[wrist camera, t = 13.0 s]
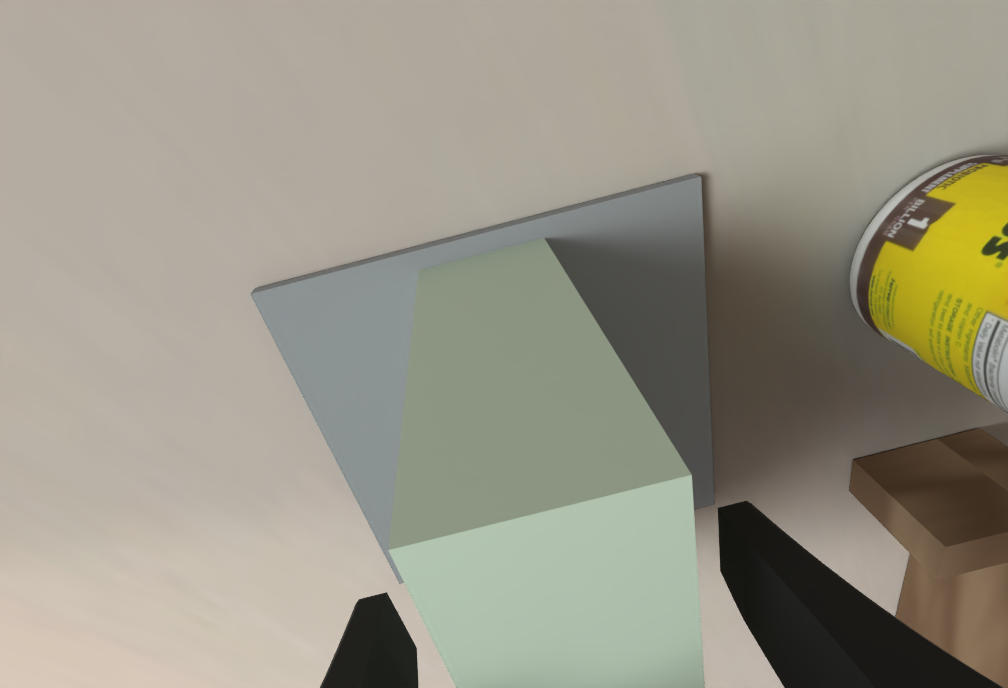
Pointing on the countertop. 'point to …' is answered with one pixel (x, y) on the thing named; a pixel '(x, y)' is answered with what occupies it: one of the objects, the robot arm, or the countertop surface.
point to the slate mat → (568, 231)
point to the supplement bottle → (943, 273)
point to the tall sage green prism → (539, 490)
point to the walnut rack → (948, 540)
